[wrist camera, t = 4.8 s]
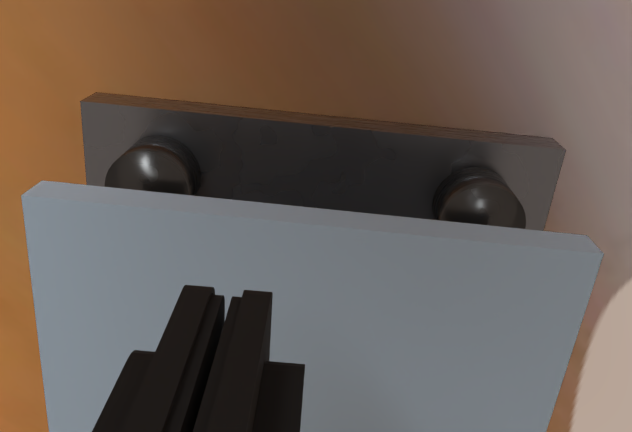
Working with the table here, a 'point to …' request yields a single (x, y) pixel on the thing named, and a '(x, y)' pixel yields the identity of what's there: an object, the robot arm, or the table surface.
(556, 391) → the plate
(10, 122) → the table surface
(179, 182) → the leveling stand
